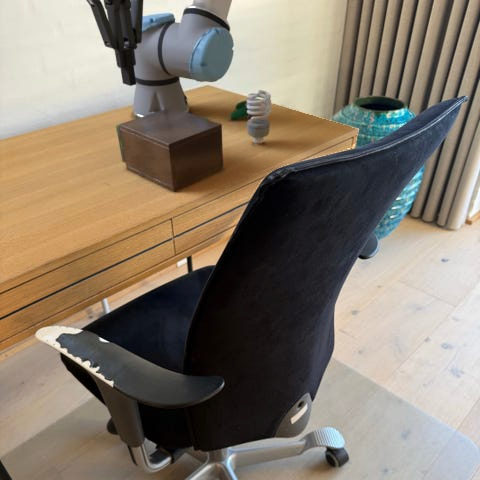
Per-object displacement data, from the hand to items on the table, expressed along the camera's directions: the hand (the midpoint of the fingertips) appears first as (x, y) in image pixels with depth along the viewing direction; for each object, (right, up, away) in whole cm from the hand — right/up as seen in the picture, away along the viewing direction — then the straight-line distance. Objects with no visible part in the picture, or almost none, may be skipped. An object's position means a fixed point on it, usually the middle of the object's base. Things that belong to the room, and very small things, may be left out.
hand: (129, 83), depth 100 cm
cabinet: (+9, -17, +4) cm, 20 cm away
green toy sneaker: (+24, +6, +29) cm, 38 cm away
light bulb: (+28, -8, +14) cm, 32 cm away
